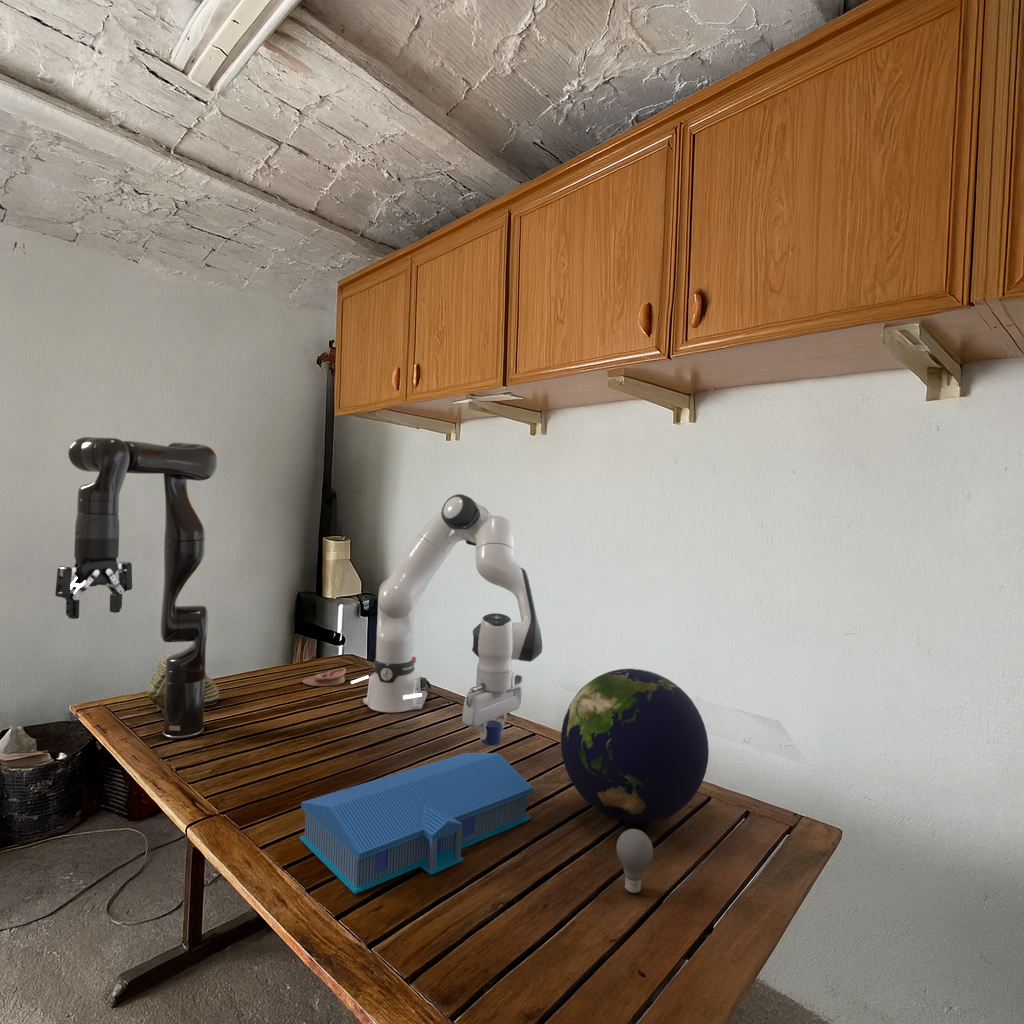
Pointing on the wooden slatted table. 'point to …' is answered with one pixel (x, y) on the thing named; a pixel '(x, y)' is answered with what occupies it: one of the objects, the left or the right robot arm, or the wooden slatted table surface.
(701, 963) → the wooden slatted table surface
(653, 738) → the globe
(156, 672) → the fossil
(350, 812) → the model building
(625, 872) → the light bulb
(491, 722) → the canister
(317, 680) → the anatomical model
